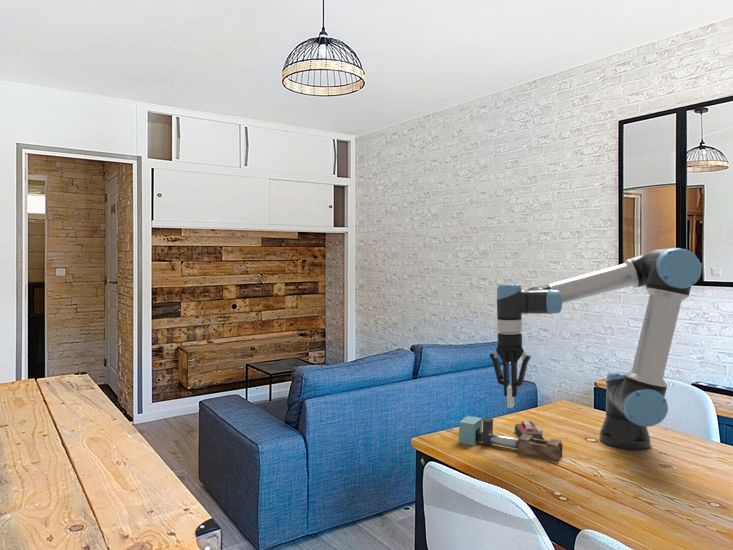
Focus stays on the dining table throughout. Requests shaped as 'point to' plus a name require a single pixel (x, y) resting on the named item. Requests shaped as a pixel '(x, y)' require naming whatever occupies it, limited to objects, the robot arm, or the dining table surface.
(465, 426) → the socket
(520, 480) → the dining table surface
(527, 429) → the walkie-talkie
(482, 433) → the rod
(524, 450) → the sleeve
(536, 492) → the dining table surface
